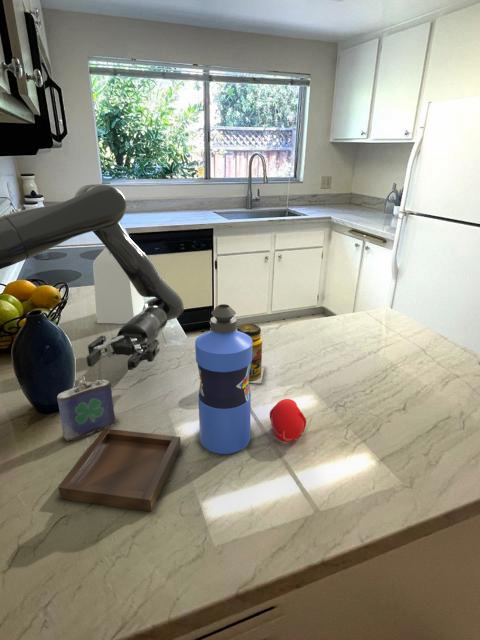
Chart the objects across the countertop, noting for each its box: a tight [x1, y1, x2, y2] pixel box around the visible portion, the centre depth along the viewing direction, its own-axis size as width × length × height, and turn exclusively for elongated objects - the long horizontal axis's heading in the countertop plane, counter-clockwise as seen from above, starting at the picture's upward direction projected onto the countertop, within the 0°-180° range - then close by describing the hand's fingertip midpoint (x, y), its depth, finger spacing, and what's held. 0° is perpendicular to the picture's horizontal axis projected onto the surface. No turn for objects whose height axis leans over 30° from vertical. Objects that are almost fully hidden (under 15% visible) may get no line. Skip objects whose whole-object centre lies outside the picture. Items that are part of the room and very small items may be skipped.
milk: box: [92, 247, 145, 325], centre depth 123 cm, size 12×12×26 cm
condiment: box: [236, 323, 265, 384], centre depth 91 cm, size 7×8×12 cm
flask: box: [56, 375, 116, 442], centre depth 72 cm, size 9×3×11 cm, turn 127°
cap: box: [269, 398, 307, 443], centre depth 72 cm, size 8×6×6 cm
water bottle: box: [194, 304, 252, 455], centre depth 68 cm, size 9×9×25 cm
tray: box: [58, 428, 182, 513], centre depth 64 cm, size 14×14×2 cm
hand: (109, 364), depth 80 cm, fingers open, 8 cm apart
